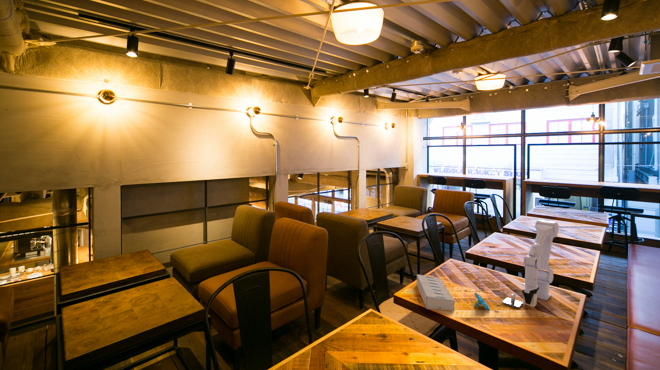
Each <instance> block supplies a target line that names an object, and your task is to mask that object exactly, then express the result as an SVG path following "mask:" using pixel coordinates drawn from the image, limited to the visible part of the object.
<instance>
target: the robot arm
mask: <svg viewBox="0 0 660 370" xmlns="http://www.w3.org/2000/svg"><path fill="white" fill-rule="evenodd" d="M534 227H535V231H536V236H535V240H534V241H535V242H534V243H531V245H530V249H528V253H527V255H525V256H524V258H523V265H524V271H525V273H524V282H521V284H522V286H524V289H522V290H521V293H522V295H523V299H524V298H525V303H526V304H529V305H530V304H531V301H532V297H533V295H534V294H537V299H541V300H544V301H548V300H549V299H550V297H551V296H552V294H550V284H552V283H553V281H554V270H553V269H552V268H551V267H550V266H549V264H550V263H549V262H550V256H551V251H552V247H553V240H554V238H557V237H558V234H559V227H560V226H559V222H557V221H548V220H543V219H537V220H536V221H535V226H534ZM529 305H528V306H529Z"/></svg>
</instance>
